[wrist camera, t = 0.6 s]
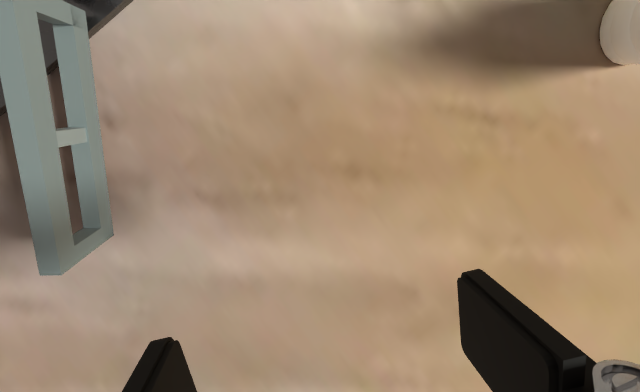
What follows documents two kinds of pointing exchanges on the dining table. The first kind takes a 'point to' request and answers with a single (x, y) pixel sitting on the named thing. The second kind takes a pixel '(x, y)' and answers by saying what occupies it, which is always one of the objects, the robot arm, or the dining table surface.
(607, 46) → the bottle
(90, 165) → the gate
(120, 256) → the dining table surface
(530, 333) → the robot arm
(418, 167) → the dining table surface
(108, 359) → the dining table surface
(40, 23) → the gate frame
